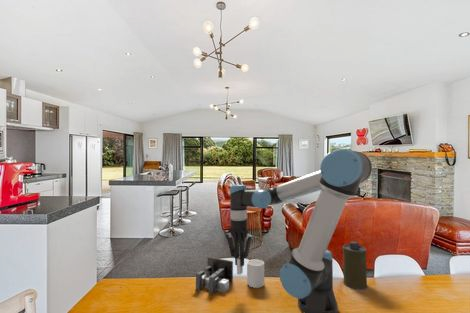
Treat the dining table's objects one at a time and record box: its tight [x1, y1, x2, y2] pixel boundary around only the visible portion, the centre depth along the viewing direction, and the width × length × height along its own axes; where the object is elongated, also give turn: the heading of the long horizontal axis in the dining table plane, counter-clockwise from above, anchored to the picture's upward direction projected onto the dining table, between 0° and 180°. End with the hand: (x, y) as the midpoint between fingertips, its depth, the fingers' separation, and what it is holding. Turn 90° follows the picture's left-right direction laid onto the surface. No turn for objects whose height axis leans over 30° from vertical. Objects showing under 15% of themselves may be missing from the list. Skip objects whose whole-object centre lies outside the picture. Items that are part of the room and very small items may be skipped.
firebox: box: [195, 256, 234, 295], centre depth 114 cm, size 14×14×10 cm
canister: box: [342, 240, 368, 291], centre depth 117 cm, size 11×10×20 cm
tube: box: [202, 273, 230, 294], centre depth 112 cm, size 14×4×4 cm, turn 64°
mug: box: [246, 258, 265, 289], centre depth 117 cm, size 12×8×10 cm
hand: (239, 273), depth 107 cm, fingers closed
